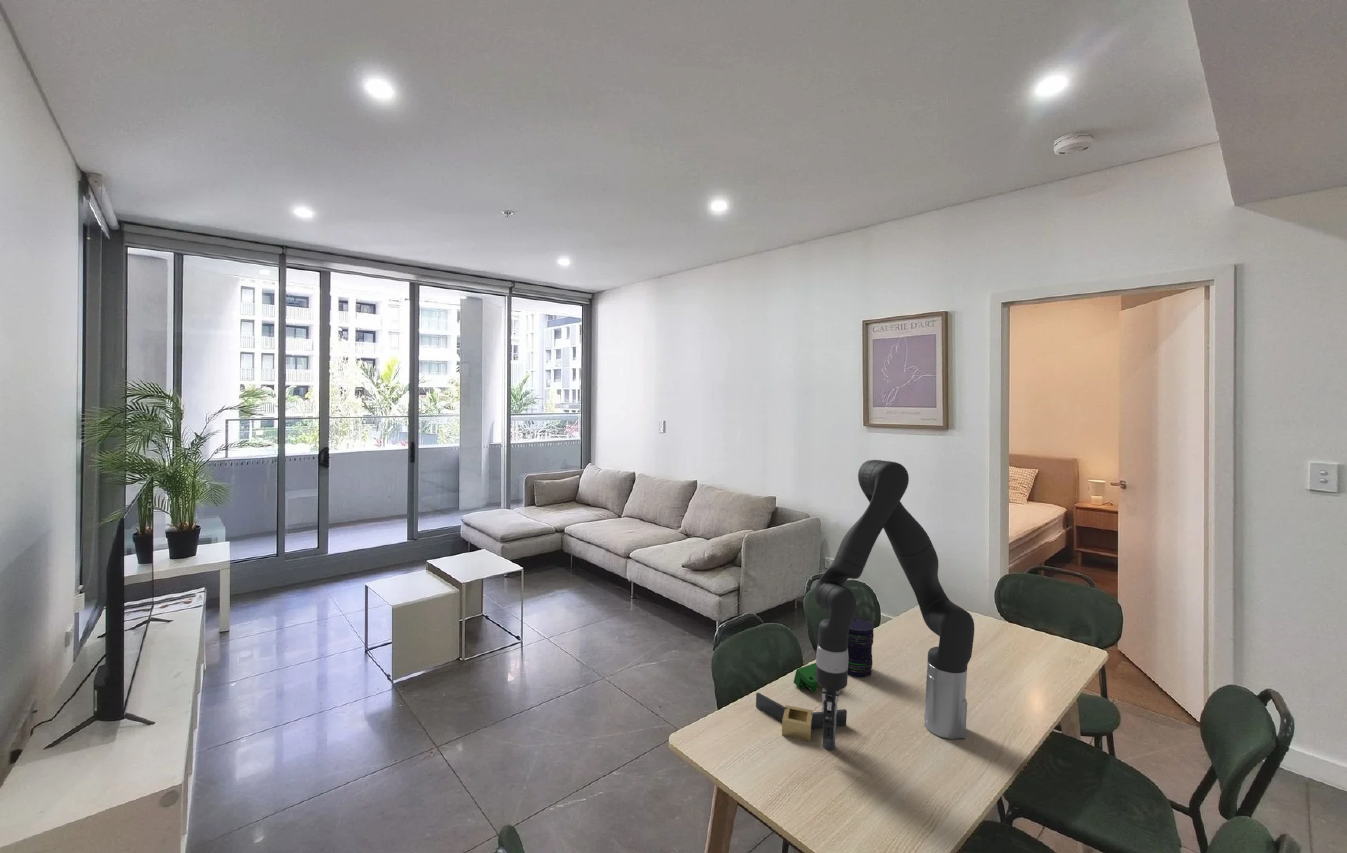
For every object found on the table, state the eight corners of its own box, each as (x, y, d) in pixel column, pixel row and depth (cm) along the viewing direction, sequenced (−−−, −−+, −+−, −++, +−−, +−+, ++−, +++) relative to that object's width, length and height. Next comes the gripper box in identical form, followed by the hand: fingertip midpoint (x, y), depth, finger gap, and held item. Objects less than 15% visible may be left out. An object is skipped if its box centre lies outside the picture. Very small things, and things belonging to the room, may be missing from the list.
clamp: (809, 706, 160) (806, 686, 156) (795, 692, 165) (792, 672, 161) (839, 683, 164) (837, 663, 160) (825, 670, 169) (822, 650, 165)
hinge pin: (835, 744, 136) (836, 705, 136) (834, 751, 133) (836, 711, 133) (822, 741, 137) (824, 702, 137) (822, 748, 134) (823, 709, 134)
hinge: (846, 723, 145) (846, 709, 144) (845, 748, 135) (846, 732, 134) (756, 705, 152) (756, 691, 152) (749, 727, 142) (749, 712, 142)
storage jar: (876, 678, 168) (878, 630, 167) (844, 677, 168) (846, 630, 167) (865, 662, 178) (867, 617, 177) (835, 661, 178) (837, 616, 177)
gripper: (847, 681, 126) (844, 750, 127) (848, 653, 140) (845, 715, 141) (813, 675, 128) (811, 742, 129) (818, 648, 142) (815, 709, 143)
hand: (829, 728), depth 135 cm, fingers open, 7 cm apart
